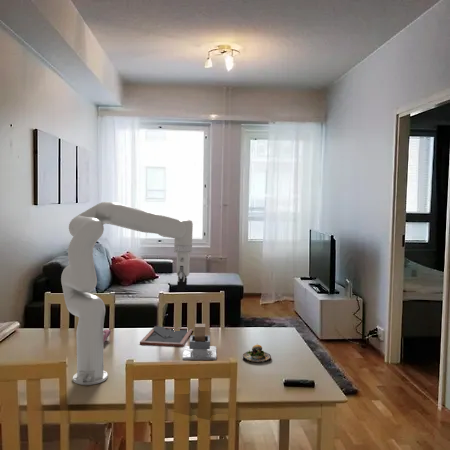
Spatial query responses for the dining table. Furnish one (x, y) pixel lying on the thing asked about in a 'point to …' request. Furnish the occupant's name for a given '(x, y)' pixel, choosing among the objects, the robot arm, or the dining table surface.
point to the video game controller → (106, 335)
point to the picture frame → (166, 337)
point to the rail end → (199, 332)
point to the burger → (256, 354)
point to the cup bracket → (199, 350)
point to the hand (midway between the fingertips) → (182, 288)
